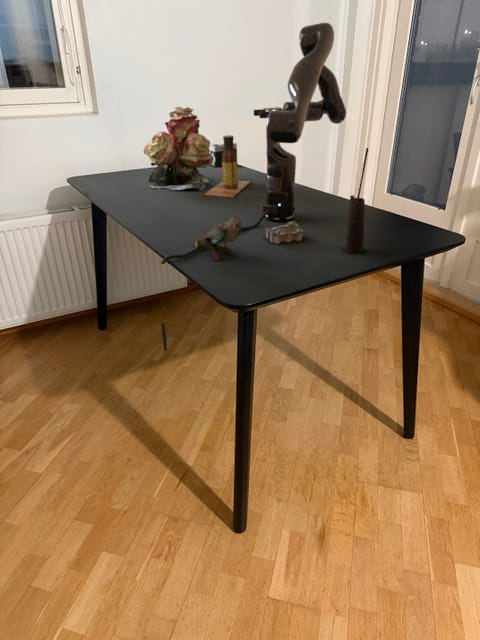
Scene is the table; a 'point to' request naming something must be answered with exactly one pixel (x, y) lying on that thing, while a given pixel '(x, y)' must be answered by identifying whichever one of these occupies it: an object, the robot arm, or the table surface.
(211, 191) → the flat copper plate
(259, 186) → the table surface
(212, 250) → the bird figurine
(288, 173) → the robot arm
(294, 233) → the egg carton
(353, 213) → the butter churn
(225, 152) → the sauce bottle
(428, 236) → the table surface
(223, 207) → the table surface
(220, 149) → the camera
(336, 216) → the table surface
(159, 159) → the rose bouquet
